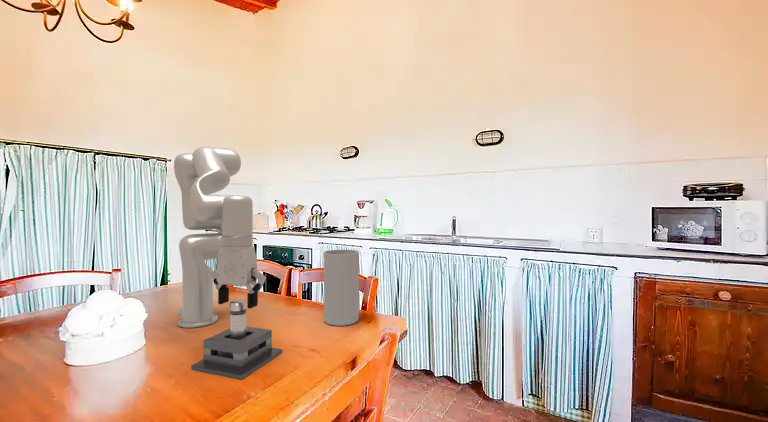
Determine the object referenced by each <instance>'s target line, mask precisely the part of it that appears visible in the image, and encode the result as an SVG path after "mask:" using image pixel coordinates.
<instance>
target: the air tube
mask: <svg viewBox="0 0 768 422" xmlns="http://www.w3.org/2000/svg"><path fill="white" fill-rule="evenodd" d="M229 321H230V323H229V324H230V325H229V326H230V327H229V329H230V339H236V340H241V339H243V338H245V337H247V333H246V326H247V300H246V299H236V300H235V299H234V300H231V301H229Z"/></svg>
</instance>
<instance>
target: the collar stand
mask: <svg viewBox="0 0 768 422" xmlns="http://www.w3.org/2000/svg"><path fill="white" fill-rule="evenodd" d="M246 333H247V337H245V338H243V339H241V340H236V339H230V328H227V329H225V330H223V331H221V332H219V333H217V334H214V335H212V336H210V337H208V338H205V339H203V340H202V342H203V345H202V346H203V347H202V348H203V349H202V351H203V358H202V360H199V361H197V362H195V363H194V364H192V365H191V366H190V369H191V370H193V371H197V372H202V373H206V374H211V375H217V376H222V377H226V378H231V379H236V380H244V379H245V378H247V377H248V376H249V375H251V374H253V373H255V372H256V371H257V370H258V369H260V368H261V367H262V368H263V366H265V365H266V364H268V363H269V362H270V361H272V360H274V359H275V358H277V357H278V356H280V355H281V354H283V349H282V348H278V347H277V348H276V347H272V346H273V340H272V338H273V337H272V329H268V328H260V327H254V326H247V325H246Z"/></svg>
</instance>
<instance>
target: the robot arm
mask: <svg viewBox="0 0 768 422" xmlns="http://www.w3.org/2000/svg"><path fill="white" fill-rule="evenodd" d="M241 166H242V160H241V157H240V154H239V153H238V152H237V151H236V150H235V149H231V148H226V147H225V148H224V147H216V146H201V147H197V148H196V149H195V150H194V151H193V152H192V153H191V152H187V153H180V154H178V155H176V156H175V158H174V160H173V170H174V175H175V176H174V177H175V179H176V182H177V183H178V186H179V188H180V189H179V190H180V192H181V193H180V194H181V206H182V207H181V212H182V213H181V214H182V222H183V226H184V228H185V229H187V230H190V231H207V230H215V231H216V232H211V233H192V234H188V235H185V236H182V238H181V239H180V241H179V243H178V248H179V249H178V250H179V254H180V255H179V256H180V261H181V268H182V269H181V271H182V273H181V274H182V307H181V308H180V309H179V310H178V311H177V312H176V315H177V316H181V317H180V319H178V321H177V326H178V327H180V328H186V329H188V328H189V329H190V328H191V329H192V328H193V329H194V328H200V327H204V326H208V325H212V324H214V323H217V321H218V320H219V316H218V315H217V314H216V313H214V285H215V289H216V290H217V291H218V293H217V294H218V295H217V297H218V298H217V303H218V305H223V304H226V303H228V302H230V289H229V287H228V286H232V287H233V286H234V287H246V289H247V291H248V293H247V297H246V299H247V300H246V308H248V310H249V309H250V310H251V309H253V308H255V307H257V306H258V302H259V301H258V299H259V295H258V294H259V292H260V291H261V289H262V288H263V287H264V283H265V281H266V280H267V277H266V275H264V274H263V273H262V272H260V271H259V270H258V263H257V254H256V250H255V246H254V245H253V239H254V238H253V237H254V236H253V234H254V233H253V230H254V229H253V227H254V226H253V225H254V223H253V221H254V220H253V213H254V212H253V211H254V210H253V208H254V207H253V205H254V203H253V200H252V198H251V197H250V196H246V195H236V194H234V195H233V194H215V193H218V192H220V191H222V190H224V189H226V188H227V186H228V185H229V184H230V182H231V177H233V176H235V175H236V174H238V173H239V172H240V170H241ZM209 260H217V261H216V262H217V263H216V269H214V270H212V268H211V267H210V266H209V265H208V264H207V263H206V262H205V261H209Z"/></svg>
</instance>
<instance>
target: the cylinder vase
mask: <svg viewBox="0 0 768 422" xmlns="http://www.w3.org/2000/svg"><path fill="white" fill-rule="evenodd" d="M359 252H360V251H359V250H355V249H332V250H331V249H330V250H325V251H323V319H324V320H323V321H324V322H325V323H326V324H328V325H329V326H330V325H331V326H333V327H334V326H335V327H336V326H337V327H342V326H343V327H345V326H350V325H354V324H356V323H357V322H358V321H359V318H360V283H359V282H360V281H359V280H360V278H359V277H360V275H359V274H360V273H359V272H360V271H359V268H360V266H359V265H360V264H359V263H360V261H359V258H360V255H359V254H360V253H359Z"/></svg>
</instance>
